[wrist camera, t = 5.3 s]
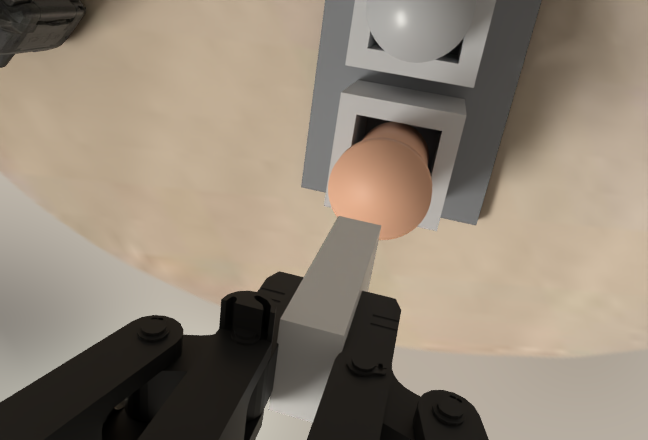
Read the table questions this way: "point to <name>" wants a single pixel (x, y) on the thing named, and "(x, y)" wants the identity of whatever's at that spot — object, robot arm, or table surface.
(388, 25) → the plug grey
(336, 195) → the plug terracotta
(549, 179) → the table surface
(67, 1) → the camera
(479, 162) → the panel
